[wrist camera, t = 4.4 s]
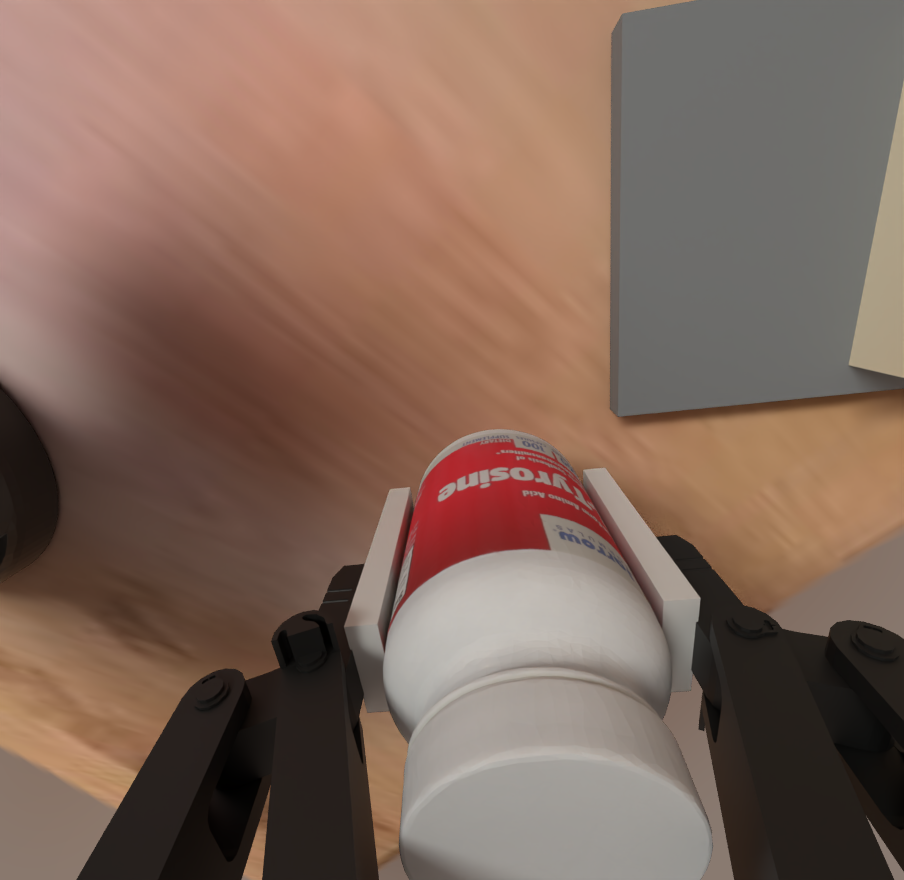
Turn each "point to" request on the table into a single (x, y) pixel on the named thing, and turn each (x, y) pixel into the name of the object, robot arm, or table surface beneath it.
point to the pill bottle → (531, 684)
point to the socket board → (756, 202)
